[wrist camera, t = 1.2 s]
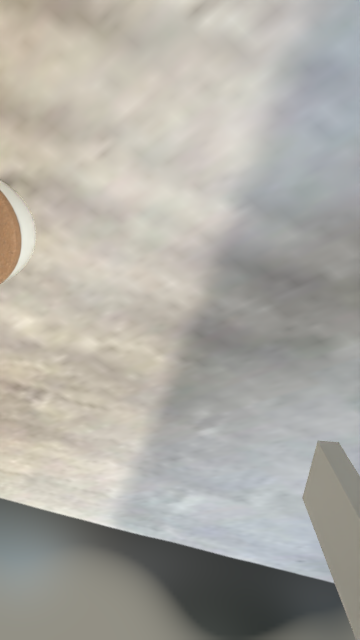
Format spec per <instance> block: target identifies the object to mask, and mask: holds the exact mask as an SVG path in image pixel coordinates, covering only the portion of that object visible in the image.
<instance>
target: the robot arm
mask: <svg viewBox="0 0 360 640" xmlns="http://www.w3.org/2000/svg"><path fill="white" fill-rule="evenodd" d="M303 501H304V503H305V506H306V508H307V511H308V514H309V516H310V519H311V522H312V524H313V527H314V530H315V532H316V535H317V538H318V540H319V543H320V545H321V548H322V551H323V553H324V556H325V559H326V561H327V564H328V567H329V569H330V572H331V575H332V577H333V580H334V583H335V585H336V587H337V590H338V593H339V596H340V598H341V600H342V604H343V606H344V609H345V612H346V614H347V617H348V620H349V622H350V625H351V627H352V630H353V633H354V635H355V638H356V640H360V476H359V475H358V473H357V471H356V470H355V468H354V466H353V465H352V463H351V462H350V460H349V458H348V457H347V455H346V454H345V452H344V450H343V449H342V447H341V445H340V444H339V443H338V442H327V441H318V442H317V446H316V449H315V453H314V457H313V461H312V464H311V468H310V472H309V476H308V479H307V483H306V487H305V491H304V494H303Z"/></svg>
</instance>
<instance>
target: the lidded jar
mask: <svg viewBox="0 0 360 640" xmlns="http://www.w3.org/2000/svg"><path fill="white" fill-rule="evenodd" d="M35 243H36V227H35V222H34V219H33V216H32V214H31V212H30V209H29V208H28V206H27V205H26V203H25V202H24V200H23V199H22V198H21V197H20V196H19V194H18V193H17V192H16V191H15V190H13V189H12V188H11V187H10V186H8V185H7V184H6V183H4V182H3V181H1V180H0V284H1V283H3V282H5V281H7V280H9V279H10V278H12V277H13V276H15V275H16V274H17V273H18V272H20V271H21V270H22V269H23V268H24V266H25V265H26V264H27V263H28V262H29V260H30V258H31V256H32V254H33V251H34V248H35Z"/></svg>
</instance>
